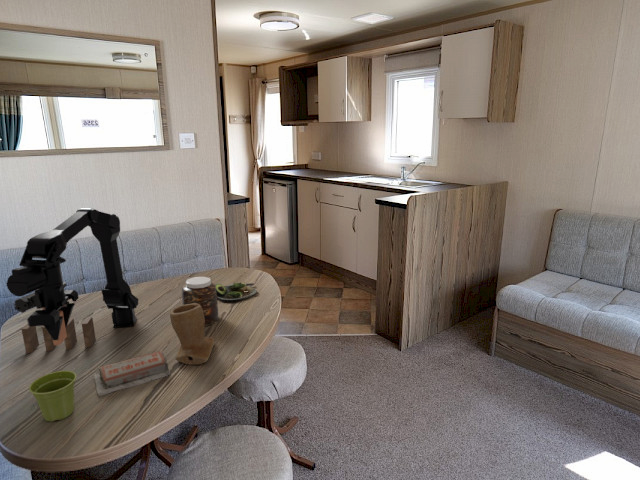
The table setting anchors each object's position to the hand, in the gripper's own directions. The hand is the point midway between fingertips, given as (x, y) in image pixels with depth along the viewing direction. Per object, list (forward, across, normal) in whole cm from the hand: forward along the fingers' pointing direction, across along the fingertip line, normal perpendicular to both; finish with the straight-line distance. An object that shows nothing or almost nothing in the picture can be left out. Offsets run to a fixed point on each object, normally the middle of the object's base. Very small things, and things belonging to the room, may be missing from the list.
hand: (59, 335), depth 117 cm
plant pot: (+10, +22, +6) cm, 25 cm away
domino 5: (+10, -14, +3) cm, 18 cm away
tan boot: (+10, 0, +35) cm, 37 cm away
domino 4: (+10, -14, -3) cm, 18 cm away
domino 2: (+10, -14, -8) cm, 19 cm away
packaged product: (+11, +9, +20) cm, 24 cm away
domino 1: (+10, -14, -14) cm, 22 cm away
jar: (+10, -24, +36) cm, 45 cm away
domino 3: (+2, 0, 0) cm, 2 cm away
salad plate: (+10, -47, +47) cm, 67 cm away
